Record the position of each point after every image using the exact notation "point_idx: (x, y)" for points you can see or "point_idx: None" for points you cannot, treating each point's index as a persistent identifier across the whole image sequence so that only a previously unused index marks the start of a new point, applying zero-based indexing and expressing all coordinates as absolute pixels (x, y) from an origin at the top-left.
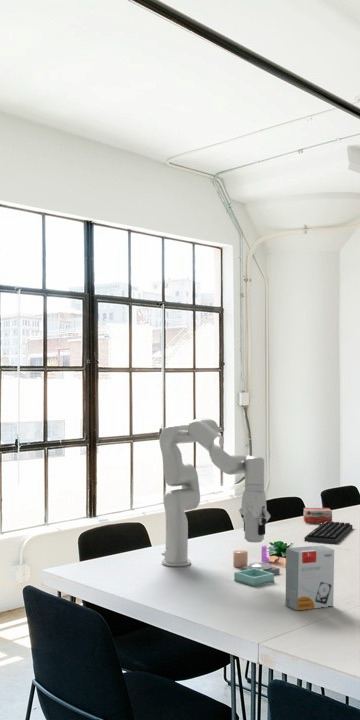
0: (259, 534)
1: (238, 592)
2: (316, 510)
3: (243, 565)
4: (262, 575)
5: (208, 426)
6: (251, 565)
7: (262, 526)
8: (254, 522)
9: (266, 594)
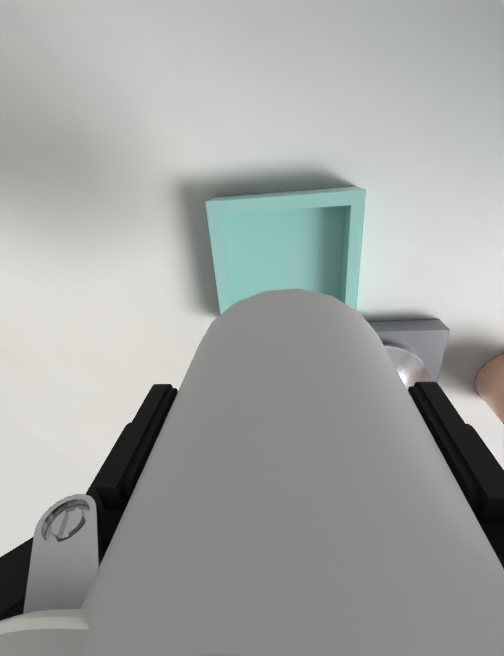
0: (152, 386)
1: (160, 32)
2: None
3: (485, 376)
4: (225, 274)
5: None
6: (400, 356)
7: (92, 491)
8: (138, 492)
9: (77, 154)
